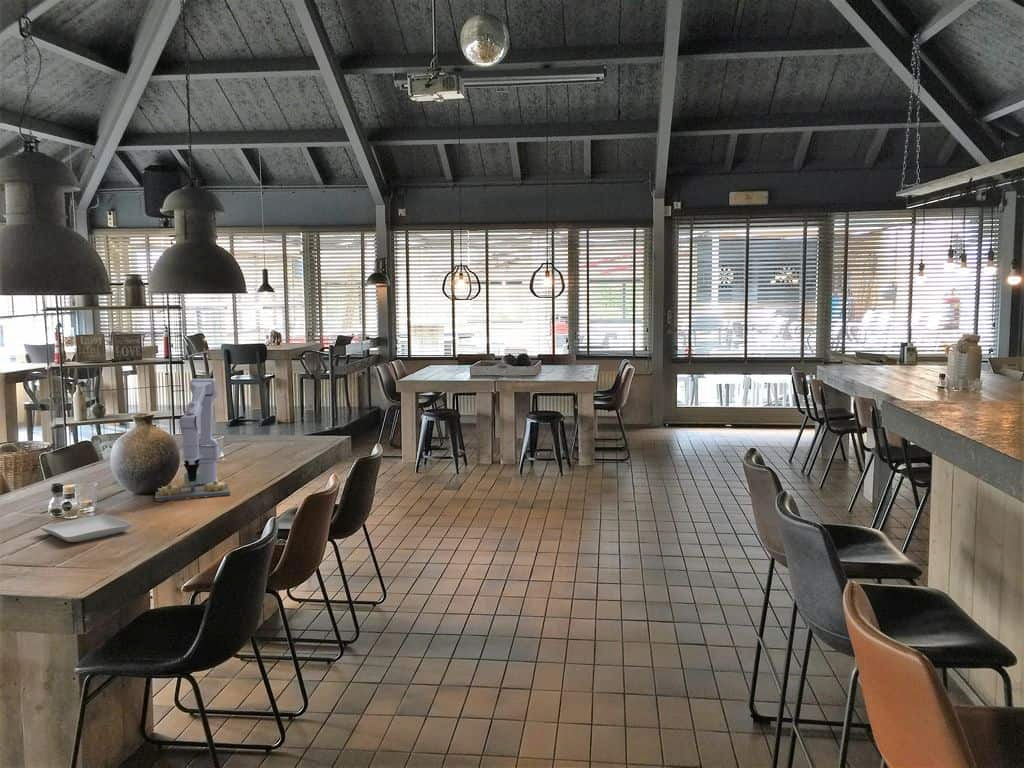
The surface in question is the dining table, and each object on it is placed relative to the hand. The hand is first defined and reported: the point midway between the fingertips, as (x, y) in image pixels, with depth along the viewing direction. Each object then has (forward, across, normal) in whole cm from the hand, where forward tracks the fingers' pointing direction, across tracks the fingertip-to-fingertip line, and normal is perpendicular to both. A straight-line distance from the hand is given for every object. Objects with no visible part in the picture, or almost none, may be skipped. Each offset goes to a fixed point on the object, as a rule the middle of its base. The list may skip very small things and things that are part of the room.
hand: (192, 479), depth 317 cm
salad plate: (+7, -44, +33) cm, 55 cm away
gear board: (+6, 0, 0) cm, 6 cm away
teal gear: (+2, 0, 0) cm, 2 cm away
